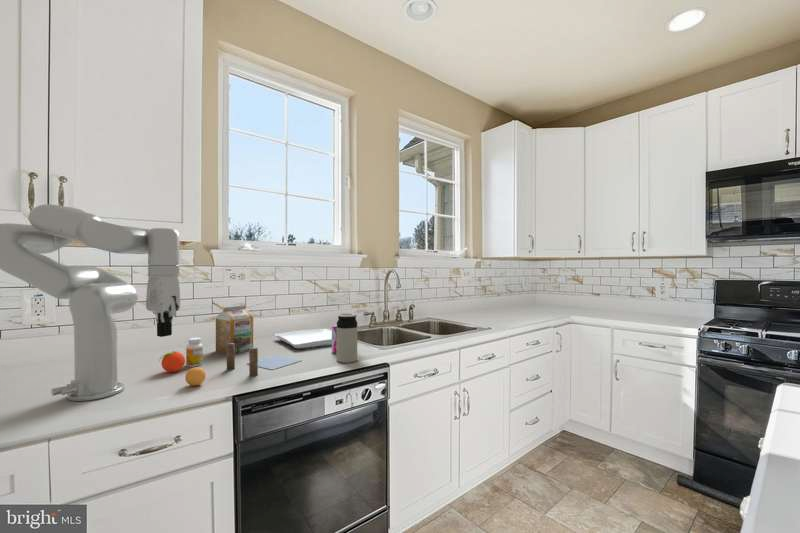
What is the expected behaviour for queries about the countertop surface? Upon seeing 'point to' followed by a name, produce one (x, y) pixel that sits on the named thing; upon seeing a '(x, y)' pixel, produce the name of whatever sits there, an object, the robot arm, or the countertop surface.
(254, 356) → the right post
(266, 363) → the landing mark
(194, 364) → the supplement bottle
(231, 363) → the left post
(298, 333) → the square plate
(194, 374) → the ball
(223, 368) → the countertop surface
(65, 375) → the countertop surface
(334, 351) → the supplement box
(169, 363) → the tomato
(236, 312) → the milk carton
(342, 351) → the travel mug
